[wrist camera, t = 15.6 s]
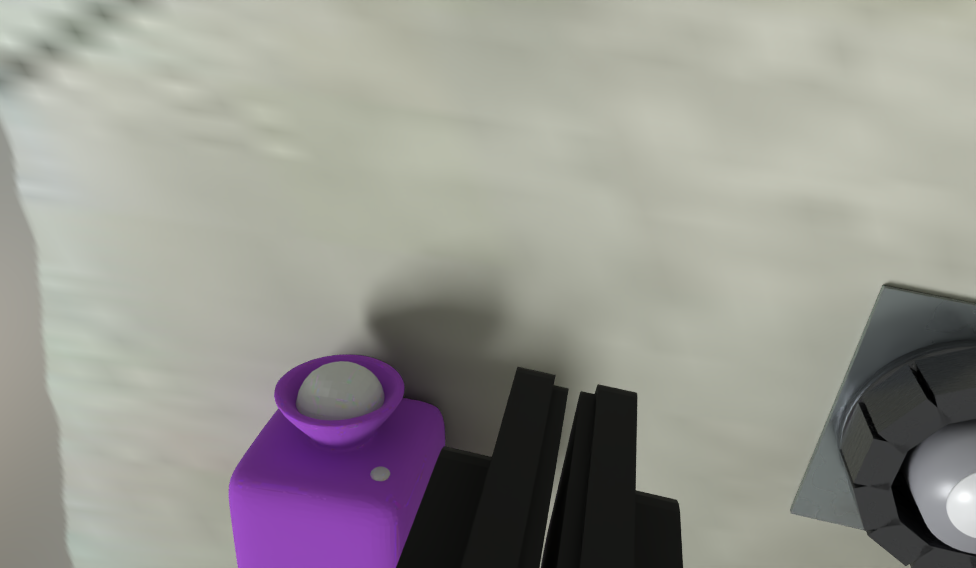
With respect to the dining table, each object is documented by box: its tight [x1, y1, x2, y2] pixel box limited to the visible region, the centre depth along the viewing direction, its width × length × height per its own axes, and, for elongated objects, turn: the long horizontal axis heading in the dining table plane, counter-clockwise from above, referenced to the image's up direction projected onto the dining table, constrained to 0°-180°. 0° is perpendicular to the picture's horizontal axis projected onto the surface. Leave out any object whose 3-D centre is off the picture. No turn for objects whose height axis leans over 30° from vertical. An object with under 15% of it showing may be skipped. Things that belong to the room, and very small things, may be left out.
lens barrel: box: [790, 285, 976, 568], centre depth 37 cm, size 14×12×4 cm
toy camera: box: [229, 355, 445, 568], centre depth 42 cm, size 11×14×10 cm
